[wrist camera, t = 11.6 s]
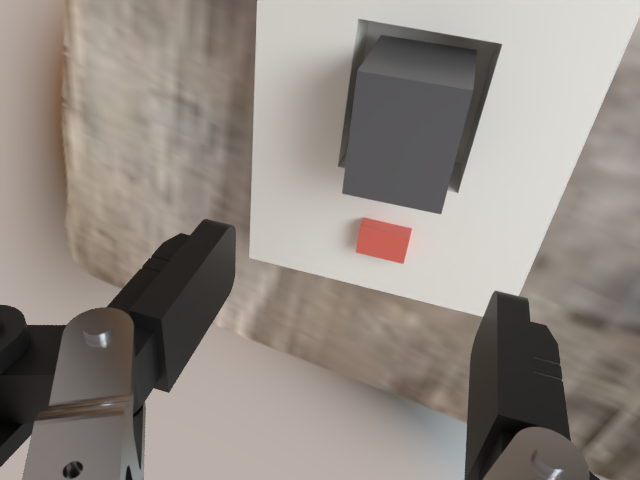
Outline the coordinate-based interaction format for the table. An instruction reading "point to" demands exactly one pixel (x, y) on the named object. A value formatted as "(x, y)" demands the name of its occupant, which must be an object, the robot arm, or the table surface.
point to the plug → (408, 122)
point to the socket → (473, 153)
